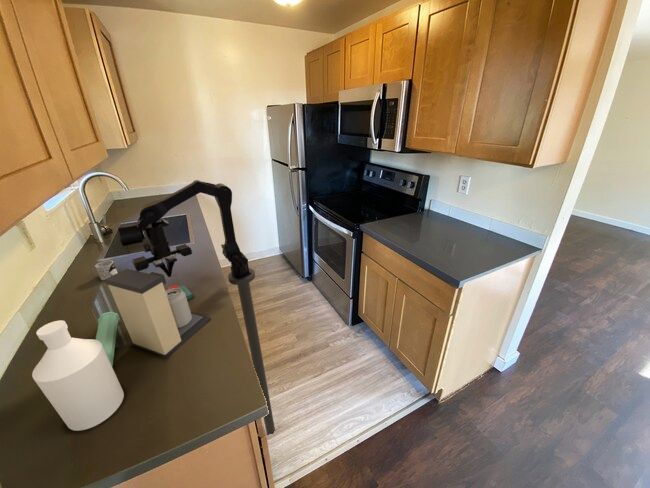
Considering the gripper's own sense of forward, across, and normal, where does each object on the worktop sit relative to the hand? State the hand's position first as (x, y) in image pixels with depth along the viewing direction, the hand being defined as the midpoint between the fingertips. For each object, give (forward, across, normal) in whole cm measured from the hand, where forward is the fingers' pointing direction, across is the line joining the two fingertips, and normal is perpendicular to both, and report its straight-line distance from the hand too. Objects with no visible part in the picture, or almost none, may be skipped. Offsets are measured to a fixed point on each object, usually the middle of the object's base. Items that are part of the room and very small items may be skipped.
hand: (169, 276), depth 105 cm
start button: (+7, 0, 0) cm, 7 cm away
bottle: (+10, +29, +35) cm, 47 cm away
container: (+10, +24, +13) cm, 29 cm away
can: (+9, +4, +19) cm, 21 cm away
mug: (+10, +16, -43) cm, 47 cm away
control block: (+10, 0, 0) cm, 10 cm away
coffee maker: (+10, +7, +20) cm, 24 cm away
